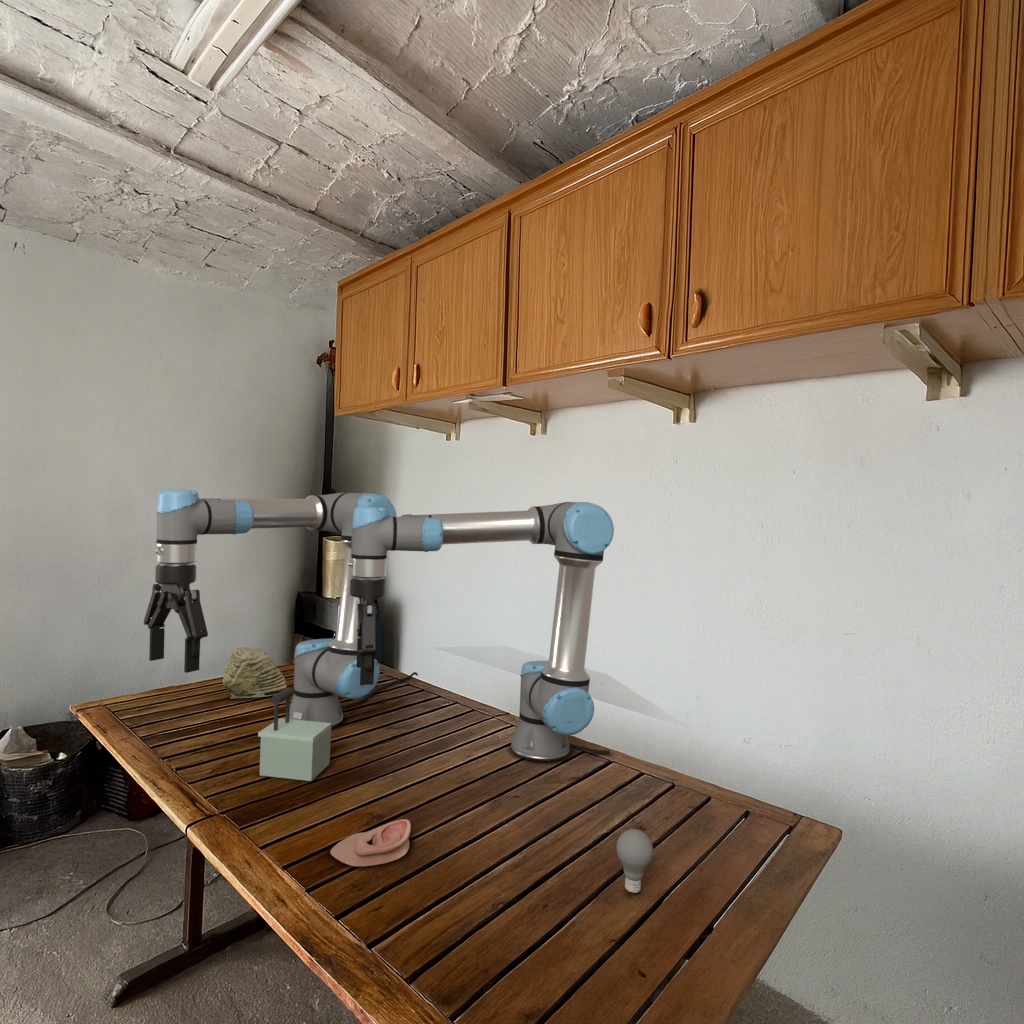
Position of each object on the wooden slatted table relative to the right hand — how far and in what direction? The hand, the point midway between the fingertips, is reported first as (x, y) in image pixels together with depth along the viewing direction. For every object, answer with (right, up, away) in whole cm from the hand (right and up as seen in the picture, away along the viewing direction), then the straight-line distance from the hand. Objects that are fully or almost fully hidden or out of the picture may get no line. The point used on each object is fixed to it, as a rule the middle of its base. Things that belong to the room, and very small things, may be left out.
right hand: (364, 675), depth 137 cm
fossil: (-49, -22, +61) cm, 81 cm away
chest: (-18, -24, +9) cm, 31 cm away
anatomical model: (+7, -26, -23) cm, 35 cm away
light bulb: (+52, -28, -32) cm, 67 cm away
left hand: (-39, +3, -5) cm, 39 cm away
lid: (-18, -15, +9) cm, 25 cm away
